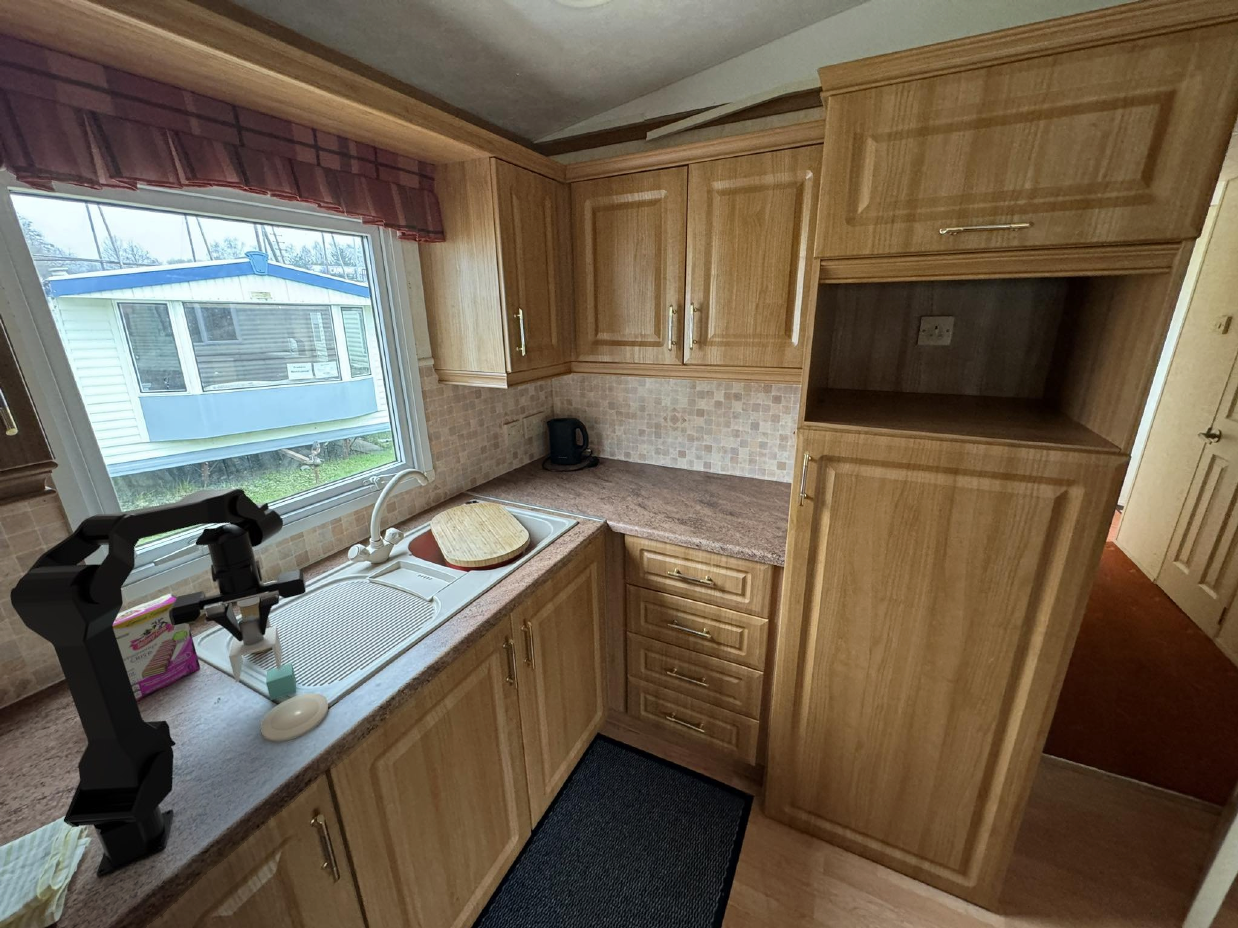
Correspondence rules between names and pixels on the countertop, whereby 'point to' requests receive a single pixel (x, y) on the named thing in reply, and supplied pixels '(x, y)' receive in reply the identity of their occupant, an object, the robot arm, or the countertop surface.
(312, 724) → the saucer
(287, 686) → the block
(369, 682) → the countertop surface
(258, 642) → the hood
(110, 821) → the robot arm
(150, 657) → the candy bar box
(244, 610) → the sprinkles bottle
